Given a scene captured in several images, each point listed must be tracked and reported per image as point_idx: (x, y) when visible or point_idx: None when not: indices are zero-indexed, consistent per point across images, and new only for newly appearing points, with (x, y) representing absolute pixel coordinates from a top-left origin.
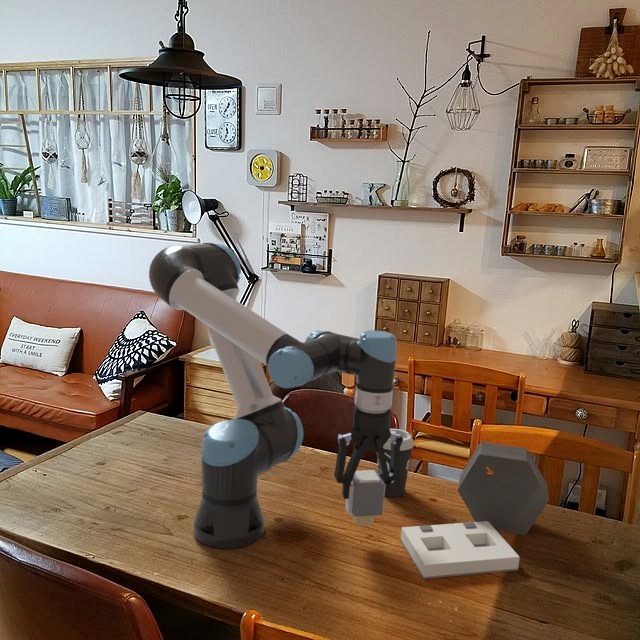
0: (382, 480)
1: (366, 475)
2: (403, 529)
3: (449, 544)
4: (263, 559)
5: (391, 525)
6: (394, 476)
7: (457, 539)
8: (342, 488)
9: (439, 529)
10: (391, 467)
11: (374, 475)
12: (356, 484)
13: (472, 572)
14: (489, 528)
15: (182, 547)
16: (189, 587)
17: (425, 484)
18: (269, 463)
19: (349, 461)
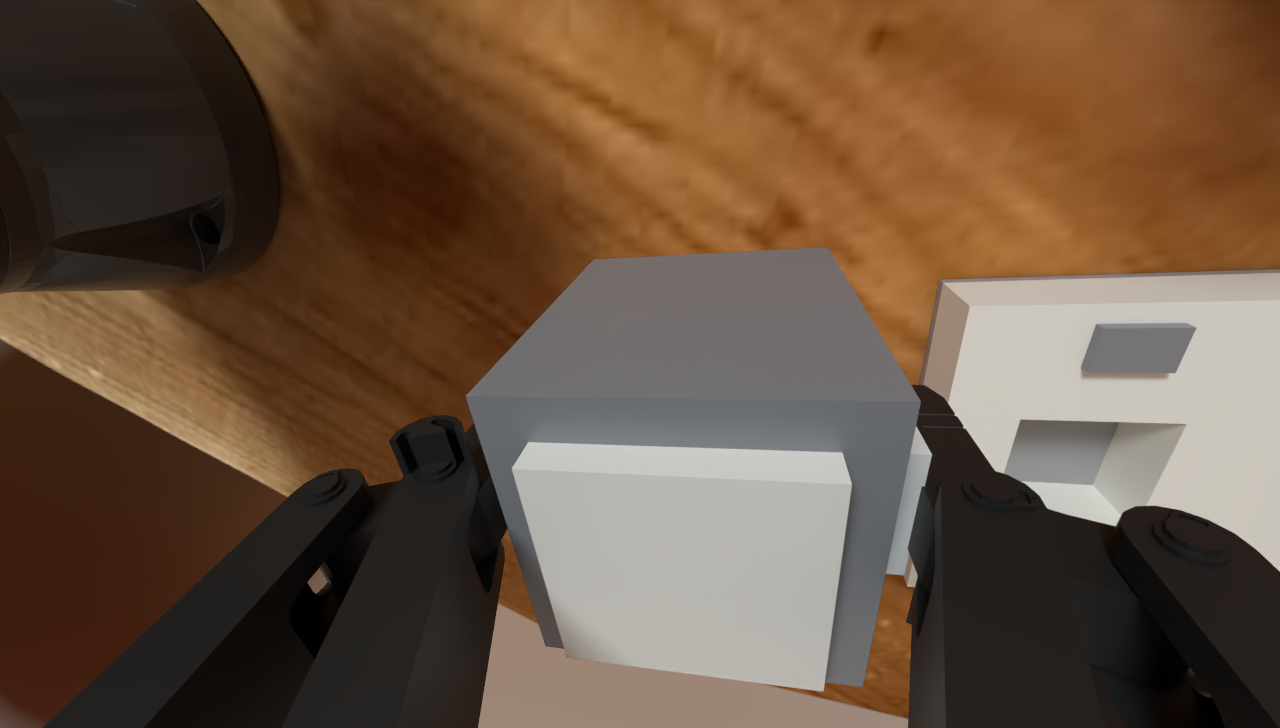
0: (873, 632)
1: (672, 590)
2: (969, 329)
3: (1156, 497)
4: (339, 349)
5: (970, 101)
6: (1098, 687)
7: (1258, 468)
8: (475, 428)
9: (1235, 356)
10: (1221, 699)
11: (787, 609)
12: (546, 635)
13: None
14: None
15: None
16: (204, 441)
17: None
18: None
19: (300, 725)
